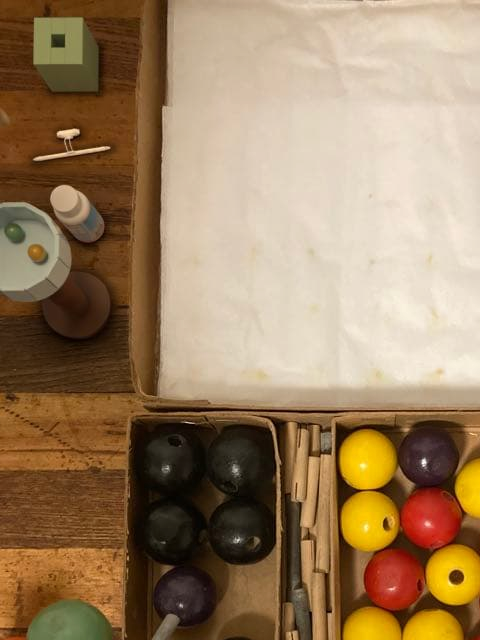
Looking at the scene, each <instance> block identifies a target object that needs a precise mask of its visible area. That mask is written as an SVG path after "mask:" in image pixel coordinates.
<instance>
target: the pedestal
mask: <svg viewBox="0 0 480 640" xmlns="http://www.w3.org/2000/svg"><path fill="white" fill-rule="evenodd" d="M112 300H113V299H112V296H111V293H110V291H109V289H108V288H107V286H106V285H105V284H104V283H103V281H102V280H100V279H99V278H98V277H97V276H96V275H94V274H92V273H89V272H86V271H82V270H81V271H80V270H73V271H69V274H68V277H67V278H66V280H65V282H64V283H63V285H62V286H61V287H60V288H59V289H58V290H57V291H56V292H55V293H53V294H52V295H50V296H49V297H47V298H45V299H42V300H41V309H42V314H43V317H44V319H45V321H46V323H47V324H48V326H49V327H50V328H51V329H52V330H54V331H55V332H56V333H57V334H58V335H60V336H63V337H65V338H68V339H70V340H71V339H73V340H83V339H88V338H91V337H92V336H95V335H97V334H98V333H100V332H101V331H102V330H103V329H104V328H105V327H106V326H107V324H108V322H109V320H110V318H111V315H112V311H113V301H112Z"/></svg>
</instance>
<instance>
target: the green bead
mask: <svg viewBox="0 0 480 640" xmlns="http://www.w3.org/2000/svg"><path fill="white" fill-rule="evenodd" d="M4 233H5V235H6V237H7V238H8V239H10V240H12V241H18V240H20V239H21V238H22V236H23V230H22V228H21V227H20V226H19V225H18V224H16V223H9V224H7V225H6V226H5V229H4Z"/></svg>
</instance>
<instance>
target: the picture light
mask: <svg viewBox="0 0 480 640" xmlns="http://www.w3.org/2000/svg"><path fill="white" fill-rule="evenodd" d="M80 131H81V130H80V129H79V128H72V129H66V130H65V129H64V130H58V131H57V132H56V137H57V138H58V139H64V146H65V149H66V152H61V153H55V154H49V155H42V156H40V155H39V156H36V157H34V158H33V159H32V160H33V161H35V162H42V161H48V160H54V159H61V158H67V157H73V156H79V155H86V154H91V153H98V152H106V151H108V150H110V149H111V146H108V145H107V146H106V145H105V146H100V147H93V148H86V149H79V150H73V146H72V145H71V144H72V143H71V140H72V139H74V137H78V136H79V135H81V132H80ZM66 140H68V141H69V142H68V143H69V146H70V148H71V150H69V149H68V146H67V143H66Z"/></svg>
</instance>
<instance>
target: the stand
mask: <svg viewBox="0 0 480 640" xmlns="http://www.w3.org/2000/svg"><path fill="white" fill-rule="evenodd" d="M99 57H100V48H99V45H98V44H97V41H96V39H95V38H94V36H93V34H92V32H91V30H90V28H89V26H88V25H87V23H86V21H85V19H84V18H83V17H33V64H32V65H33V66H34V68H35V69H36V70H37V72H38V74H39V75H40V76H41V78H42V79H43V80H44V82H45V84H46V85H47V86H48V88H49V90H50V91H51V93H55V92H56V93H60V92H61V93H63V92H64V93H65V92H66V93H68V92H69V93H70V92H71V93H73V92H74V93H75V92H76V93H79V92H80V93H81V92H82V93H83V92H85V93H86V92H88V93H91V92H92V93H94V92H97V93H98V92H99V72H100V71H99V67H100V66H99V61H100V60H99Z"/></svg>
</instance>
